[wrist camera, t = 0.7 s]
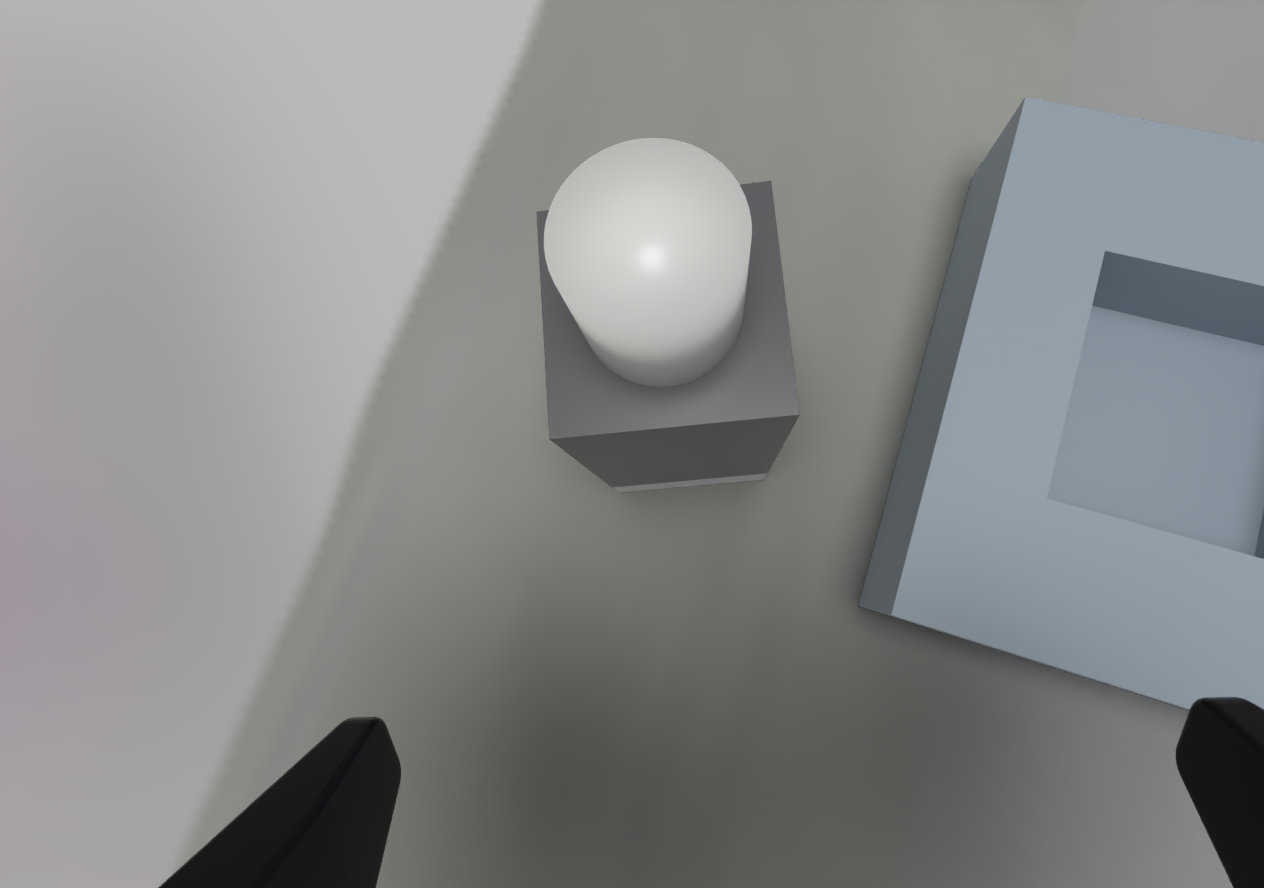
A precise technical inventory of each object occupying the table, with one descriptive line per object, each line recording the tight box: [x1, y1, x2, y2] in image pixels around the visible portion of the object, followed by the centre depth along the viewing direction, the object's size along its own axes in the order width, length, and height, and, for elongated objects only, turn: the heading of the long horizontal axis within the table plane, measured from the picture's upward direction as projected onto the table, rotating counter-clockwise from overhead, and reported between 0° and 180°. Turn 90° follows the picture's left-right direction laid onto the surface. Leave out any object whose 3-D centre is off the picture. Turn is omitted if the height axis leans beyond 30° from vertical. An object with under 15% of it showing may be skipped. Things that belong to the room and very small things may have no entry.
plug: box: [537, 138, 800, 493], centre depth 16 cm, size 4×4×12 cm
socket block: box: [858, 97, 1264, 711], centre depth 19 cm, size 14×12×4 cm
